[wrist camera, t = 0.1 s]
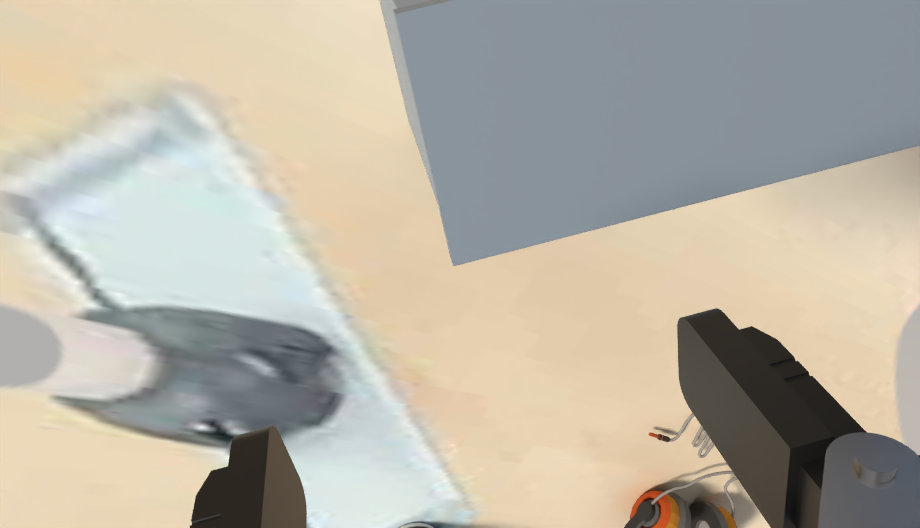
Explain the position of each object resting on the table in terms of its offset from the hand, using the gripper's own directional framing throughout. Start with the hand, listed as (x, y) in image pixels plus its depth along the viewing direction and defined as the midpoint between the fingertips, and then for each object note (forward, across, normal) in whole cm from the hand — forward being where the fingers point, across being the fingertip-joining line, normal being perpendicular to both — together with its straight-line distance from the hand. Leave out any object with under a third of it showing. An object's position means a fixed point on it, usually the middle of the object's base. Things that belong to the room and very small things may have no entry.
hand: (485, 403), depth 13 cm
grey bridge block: (+29, -12, 0) cm, 31 cm away
